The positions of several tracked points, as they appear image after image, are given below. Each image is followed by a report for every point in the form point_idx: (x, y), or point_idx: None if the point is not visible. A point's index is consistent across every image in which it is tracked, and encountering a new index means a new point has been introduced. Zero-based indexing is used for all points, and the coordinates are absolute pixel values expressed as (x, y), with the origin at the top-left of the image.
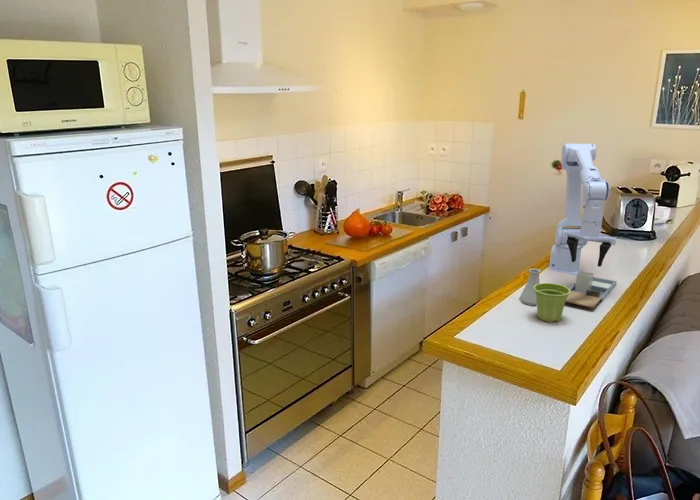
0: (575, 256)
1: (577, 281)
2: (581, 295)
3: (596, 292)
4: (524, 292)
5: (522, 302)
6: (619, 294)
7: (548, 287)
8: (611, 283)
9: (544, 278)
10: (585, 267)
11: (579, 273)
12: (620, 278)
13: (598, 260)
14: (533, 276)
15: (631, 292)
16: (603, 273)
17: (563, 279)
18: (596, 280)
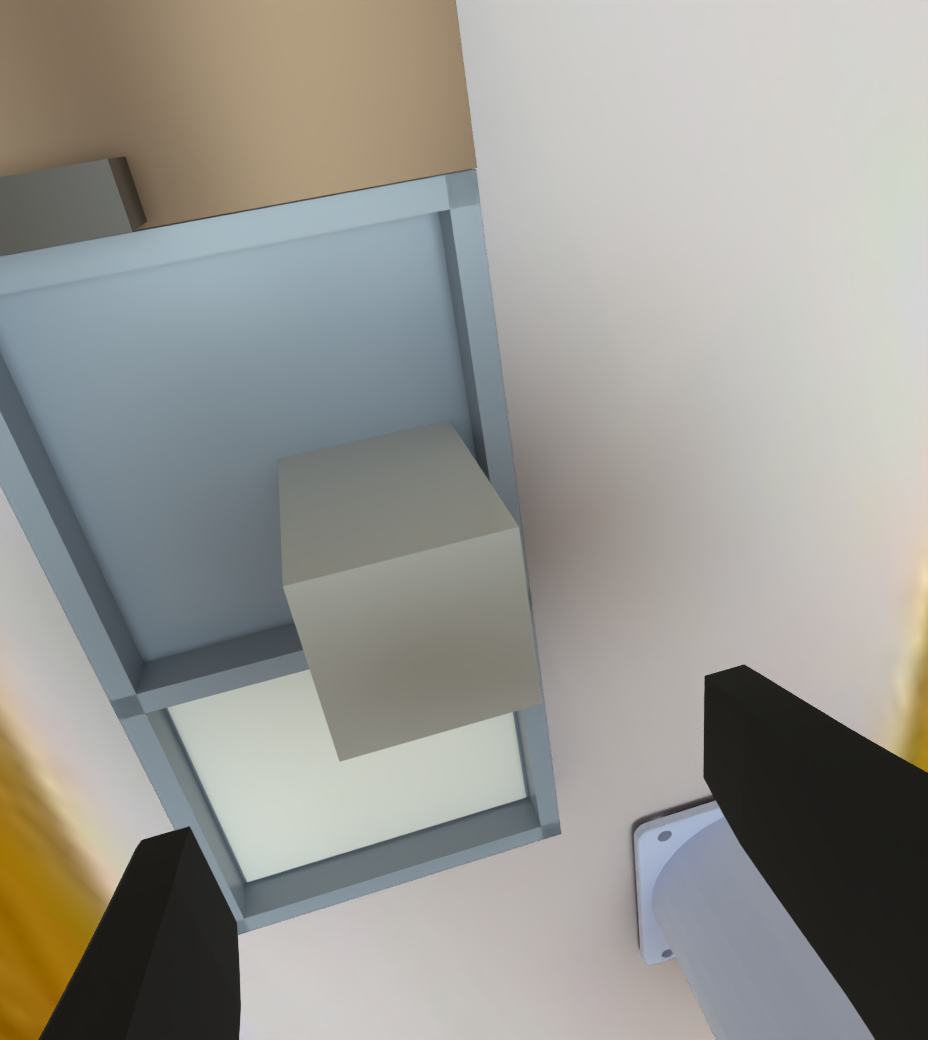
0: (766, 827)
1: (460, 479)
2: (161, 67)
3: None
4: None
5: None
6: (42, 737)
7: None
8: (268, 885)
9: (856, 551)
10: (639, 1002)
11: (502, 598)
12: (314, 1033)
13: (144, 959)
14: None
15: (6, 869)
16: (475, 1013)
17: (692, 667)
18: (416, 840)
